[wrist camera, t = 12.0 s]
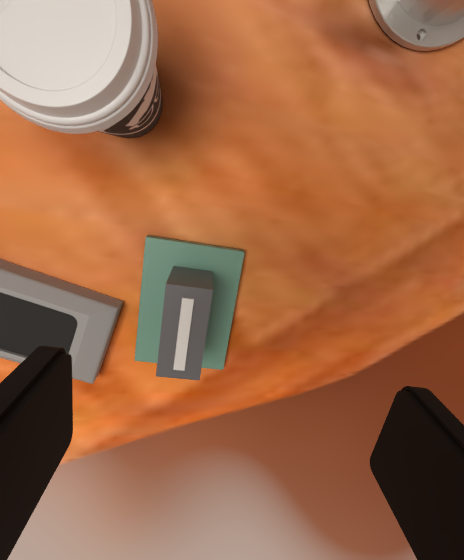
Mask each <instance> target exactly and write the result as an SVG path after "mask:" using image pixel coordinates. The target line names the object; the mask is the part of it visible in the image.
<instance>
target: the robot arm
mask: <svg viewBox="0 0 464 560" xmlns="http://www.w3.org/2000/svg"><path fill="white" fill-rule="evenodd" d="M369 4H370V7H371V9H372V12H373V14H374V17H375V19H376V21H377V22H378V24H379V25H380V27H381V28H382V30H383V31H384V32H385V33H386V34H387V35H388V36H389V37H390V38H391V39H392V40H393V41H395V42H397V43H398V44H400V45H402V46H403V47H406V48H409V49H413V50H418V51H431V50H437V49H441V48H444V47H447V46H449V45H452V44H454V43H455V42H457V41H459V40H460V39H462V38H464V0H369ZM72 434H73V410H72V356H71V355H70V354H66V351H65V349H64V348H60V347H51V346H39V347H37V348H36V349H35V350H34V351H33V352H32V353H31V354H30V355H29V356H28V357H27V358H26V359H25V360H24V361H23V362H22V363H21V364H20V365H19V366H18V367H17V368H16V369H15V370H14V371H13V372H11V373H10V374H9V375H8V376H7V377H6V378H5V379H4V380H3V381H2V382H1V383H0V560H7V559H8V557H9V555H10V553H11V551H12V550H13V548H14V546H15V544H16V542H17V540H18V538H19V537H20V535H21V533H22V531H23V529H24V528H25V526H26V524H27V522H28V520H29V518H30V516H31V514H32V513H33V511H34V509H35V507H36V505H37V503H38V502H39V500H40V498H41V496H42V494H43V493H44V491H45V489H46V487H47V485H48V483H49V482H50V479H51V478H52V476H53V474H54V472H55V471H56V469H57V467H58V465H59V463H60V461H61V460H62V458H63V456H64V454H65V452H66V450H67V448H68V446H69V444H70V442H71V438H72ZM370 467H371V470H372V472H373V475H374V476H375V478H376V480H377V482H378V484H379V486H380V488H381V490H382V492H383V494H384V496H385V498H386V500H387V502H388V504H389V506H390V508H391V509H392V511H393V513H394V515H395V517H396V519H397V521H398V523H399V525H400V527H401V529H402V531H403V533H404V535H405V537H406V538H407V540H408V542H409V544H410V546H411V548H412V550H413V552H414V554H415V556H416V558H417V560H464V425H463V424H462V423H461V422H460V421H459V420H458V419H457V418H456V417H455V416H454V415H453V414H452V413H451V412H450V411H449V410H448V409H447V408H446V407H445V406H444V405H443V404H442V403H441V402H440V401H439V399H437V398H436V396H435V395H434V394H433V393H432V392H431V391H430V390H428V389H426V388H420V387H410V386H406V387H404V388H403V389H402V390H401V391H399V392H397V394H396V396H395V398H394V401H393V403H392V406H391V408H390V411H389V413H388V416H387V418H386V420H385V423H384V425H383V428H382V430H381V433H380V435H379V438H378V440H377V442H376V445H375V447H374V450H373V452H372V455H371V458H370Z"/></svg>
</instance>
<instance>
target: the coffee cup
mask: <svg viewBox="0 0 464 560" xmlns="http://www.w3.org/2000/svg"><path fill="white" fill-rule="evenodd" d="M157 50H158V30H157V21H156V15H155V11H154V6H153V3H152V0H0V100H1V101H2V102H4V103H5V104H6V105H7V106H8V107H9V108H11V109H12V110H13V111H14V112H16V113H17V114H19V115H20V116H22V117H23V118H25V119H27V120H28V121H30V122H32V123H34V124H36V125H39V126H41V127H44V128H46V129H49V130H53V131H57V132H62V133H72V134H81V133H90V132H95V131H98V132H102V133H106V134H111V135H115V136H119V137H124V138H136V137H140V136H143V135H145V134H146V133H148V132H149V131H150V130H152V129H153V128H154V126H155V125H156V124H157V122H158V120H159V118H160V115H161V112H162V103H163V101H162V92H161V87H160V83H159V78H158V73H157V68H156V59H157Z"/></svg>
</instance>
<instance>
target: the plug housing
mask: <svg viewBox="0 0 464 560" xmlns="http://www.w3.org/2000/svg"><path fill="white" fill-rule="evenodd" d="M212 294H213V277H212V271H208V270H200V269H193V268H186V267H178V266H173V268H172V270H171V273H170V275H169V277H168V280H167V282H166V286H165V295H164V305H163V314H162V324H161V333H160V343H159V352H158V362H157V371H156V376H158V377H169V378H180V379H191V380H200V373H201V367H202V360H203V353H204V347H205V340H206V334H207V327H208V321H209V314H210V307H211V301H212Z"/></svg>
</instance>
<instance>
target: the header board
mask: <svg viewBox="0 0 464 560" xmlns="http://www.w3.org/2000/svg"><path fill="white" fill-rule="evenodd" d="M244 253H245V252H244V250H242V249H235V248H229V247H222V246H216V245H209V244H203V243H196V242H190V241H183V240H177V239H170V238H163V237H157V236H150V235H148V236H146V240H145V251H144V262H143V273H142V284H141V295H140V307H139V318H138V329H137V340H136V351H135V361H143V362H152V363H157V362H158V352H159V343H160V333H161V324H162V314H163V305H164V295H165V286H166V282H167V280H168V277H169V275H170V273H171V270H172V268H173V266H178V267H186V268H193V269H200V270H208V271H212V277H213V294H212V301H211V307H210V314H209V321H208V327H207V334H206V340H205V347H204V353H203V360H202V367H201V368H210V369H220V370H223V368H224V362H225V357H226V351H227V346H228V341H229V335H230V330H231V324H232V319H233V313H234V308H235V302H236V297H237V291H238V286H239V281H240V275H241V270H242V264H243V259H244Z"/></svg>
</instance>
